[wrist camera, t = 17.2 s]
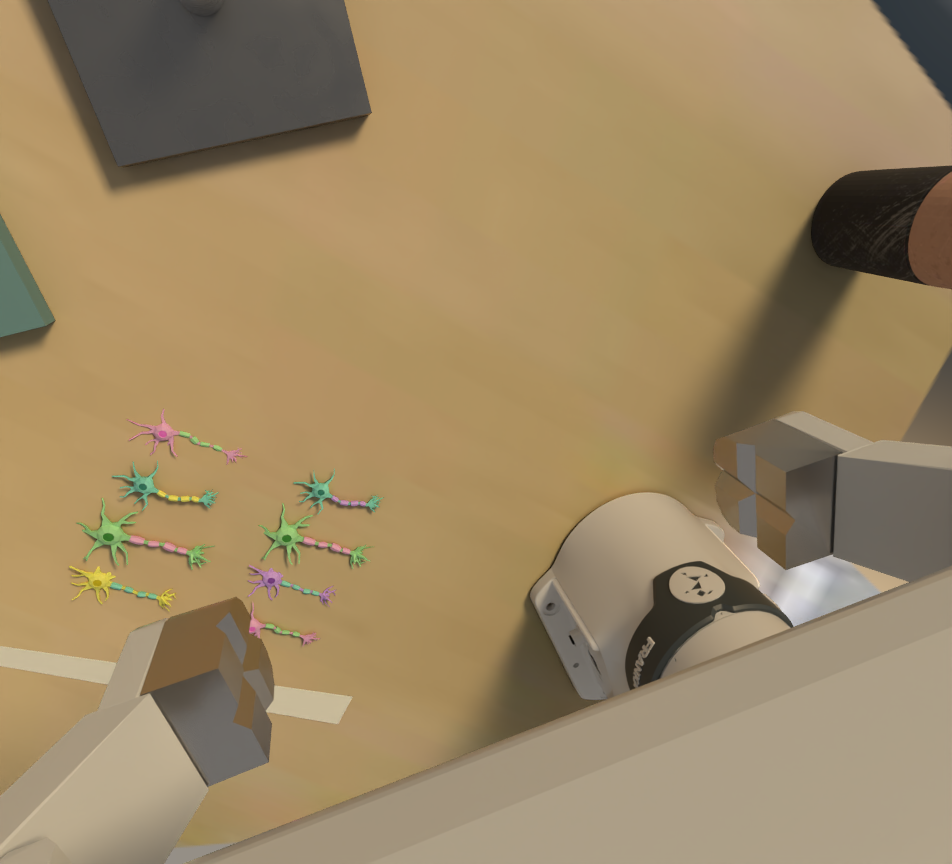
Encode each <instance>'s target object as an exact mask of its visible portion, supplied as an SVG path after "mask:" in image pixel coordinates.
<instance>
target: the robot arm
mask: <svg viewBox="0 0 952 864" xmlns="http://www.w3.org/2000/svg"><path fill="white" fill-rule="evenodd" d="M713 456H714V463H715V464H716V465H717V466H718V467H719V468H720V469H721V470H722V472H721V474H720V476H719V478H718V480H717V481H716V483H715V490H716V500H717V503H718V506H719V508H720V510H721V513H722V515H723V517H724V518H725V519H726V521H727V522H728V523H729V525H730V526H731V527H733V528H734V529H735V530H736V531H737V532H739V533H740V534H744V535H748V536H752V537H756V538H757V547H758V548H759V549H760V550H761V551H762V552H764V553H765V554H766V555H767V556H769V557H770V558H771V559H773V560H774V561H775V562H776V563H778V564H779V565H780V566H781V567H783V568H784V569H785V570H787V569H790V568H793V567H796V566H799V565H802V564H805V563H808V562H811V561H814V560H817V559H820V558H823V557H826V556H829V555H832V554H833V556H834V557H837V558H840V559H843V560H846V561H849V562H852V563H854V564H857V565H860V566H863V567H867V568H869V569H872V570H876V571H878V572H881V573H884V574H887V575H890V576H893V577H896V578H899V579H903V580H906V581H908V582H909V583H906V584H903V585H901V586H898V587H896V588H893V589H891V590H888V591H885V592H883V593H880V594H878V595H875V596H872V597H870V598H867V599H865V600H862V601H859V602H857V603H854V604H852V605H849V606H846V607H844V608H841V609H839V610H836V611H834V612H831V613H828V614H826V615H823V616H821V617H818V618H815V619H813V620H810V621H808V622H805V623H803V624H800V625H797V626H795V627H793V625H792V623H791V621H790V620H789V619H788V617H787V616H786V615H785V614H784V613H783V612H782V611H781V610H780V608H779V607H778V605H777V604H775V603H774V601H772V600H771V599H770V598H769V597H768V596H767V595H766V594H763V593H761V592H760V591H759V587H760V584H759V581H758V579H757V578H756V576H755V575H754V574H753V573H752V572H751V571H750V570H749V569H748V568H747V567H746V566H745V565H744V564H743V563H742V562H741V561H740V559H739V558H738V557H737V556H736V555H735V554H734V553H733V552H732V551H731V550H730V549H729V548H728V547H727V546H726V545H725V544H724V543H723V541H724V531H723V530H722V528H721V527H720V526H719V525H718V524H717V523H716V522H714V521H711V520H708V519H705V518H700V517H697V516H695V515H693V514H692V513H691V512H690V511H689V510H688V509H687V508H686V507H685V506H684V505H683V504H682V503H680V502H679V501H677V500H676V499H674V498H672V497H669V496H667V495H663V494H659V493H649V492H646V493H635V494H630V495H626V496H622V497H619V498H617V499H614V500H612V501H610V502H608V503H606V504H604V505H602V506H601V507H599V508H597V509H596V510H594V511H593V512H592V513H590V514H589V515H588V516H587V517H586V518H584V519H583V520H582V521H581V522H580V523H579V524H578V525H577V526H576V527H575V529H574V530H573V531H572V532H571V534H570V535H569V536H568V538H567V539H566V541H565V542H564V544H563V546H562V548H561V550H560V552H559V554H558V556H557V558H556V560H555V562H554V564H553V566H552V567H551V569H550V570H549V571H548V572H547V573H546V574H545V575H544V576H543V577H542V578H541V579H540V580H539V581H538V582H537V583H536V584H535V586H534V587H533V588H532V590H531V593H530V598H531V601H532V603H533V605H534V607H535V609H536V611H537V613H538V615H539V617H540V619H541V621H542V623H543V625H544V627H545V629H546V631H547V633H548V635H549V637H550V639H551V641H552V643H553V645H554V647H555V649H556V652H557V654H558V656H559V658H560V660H561V662H562V664H563V666H564V668H565V670H566V672H567V674H568V676H569V678H570V680H571V682H572V684H573V686H574V688H575V690H576V691H577V692H578V694H579V695H580V697H581V698H583V699H589V700H602V699H607V700H604V701H602V702H599V703H597V704H594V705H591V706H589V707H586V708H584V709H581V710H579V711H576V712H574V713H571V714H568V715H566V716H563V717H561V718H558V719H555V720H553V721H550V722H548V723H545V724H543V725H540V726H537V727H535V728H532V729H530V730H527V731H524V732H522V733H519V734H517V735H514V736H512V737H509V738H506V739H504V740H501V741H499V742H496V743H494V744H491V745H488V746H486V747H483V748H481V749H478V750H475V751H473V752H470V753H468V754H465V755H463V756H460V757H457V758H455V759H452V760H450V761H447V762H444V763H442V764H439V765H437V766H434V767H432V768H429V769H426V770H424V771H421V772H419V773H416V774H413V775H411V776H408V777H406V778H403V779H401V780H398V781H395V782H393V783H390V784H388V785H385V786H383V787H380V788H377V789H375V790H372V791H370V792H367V793H364V794H362V795H359V796H357V797H354V798H352V799H349V800H346V801H344V802H341V803H339V804H336V805H333V806H331V807H328V808H326V809H323V810H321V811H318V812H315V813H313V814H310V815H308V816H305V817H303V818H300V819H297V820H295V821H292V822H290V823H287V824H284V825H282V826H279V827H277V828H274V829H272V830H269V831H266V832H264V833H261V834H259V835H256V836H253V837H251V838H248V839H246V840H243V841H241V842H238V843H235V844H233V845H230V846H228V847H225V848H222V849H220V850H217V851H215V852H212V853H210V854H207V855H204V856H202V857H199V858H197V859H194V860H192V861H189V862H186V863H184V864H952V447H951V446H940V445H929V444H919V443H908V442H898V441H888V440H881V441H878V442H875V443H874V442H871V441H869V440H867V439H864V438H862V437H860V436H858V435H855V434H853V433H851V432H849V431H846V430H844V429H842V428H840V427H837V426H835V425H833V424H831V423H828V422H826V421H824V420H821V419H819V418H817V417H815V416H812V415H810V414H808V413H806V412H803V411H792V412H790V413H787V414H784V415H782V416H779V417H776V418H774V419H771V420H768V421H766V422H764V423H761V424H758V425H755V426H752V427H750V428H747V429H744V430H741V431H738V432H736V433H733V434H730V435H727V436H724V437H722V438H719V439H716V441H715V445H714V448H713ZM549 603H551V604H550V605H548V604H549ZM547 605H548V606H547ZM250 621H251V617H250V615H249V613H248V611H247V609H246V607H245V605H244V603H243V602H242V601H241V600H240V599H238V598H237V597H234V598H231V599H227V600H224V601H221V602H218V603H214V604H211V605H208V606H205V607H202V608H198V609H195V610H192V611H189V612H185V613H182V614H179V615H176V616H172V617H170V618H165V619H162V620H159V621H156V622H153V623H150V624H148V625H145V626H142V627H139V628H137V629H135V630H133V631H132V632H130V634H129V636H128V638H127V640H126V643H125V645H124V648H123V650H122V652H121V655H120V657H119V660H118V662H117V664H116V667H115V669H114V671H113V674H112V676H111V679H110V681H109V683H108V686H107V688H106V691H105V693H104V695H103V698H102V700H101V703H100V705H99V707H98V710H97V711H96V712H93V713H90V714H88V715H85V716H84V717H83V718H82V719H81V720H80V721H79V722H78V723H77V724H76V725H75V726H73V727H72V728H71V729H70V730H69V731H68V732H67V733H66V734H65V735H64V736H63V737H62V738H61V739H60V740H59V741H58V742H57V743H56V744H55V745H53V746H52V747H51V748H50V749H49V750H48V751H47V752H46V753H45V754H44V755H43V756H42V757H41V758H40V759H39V760H38V761H37V762H36V763H35V764H34V765H32V766H31V767H30V768H29V769H28V770H27V771H26V772H25V773H24V774H23V775H22V776H21V777H20V778H19V779H18V780H17V781H16V782H15V783H14V784H12V785H11V786H10V787H9V788H8V789H7V790H6V791H5V792H4V793H3V794H2V795H1V796H0V864H164V863H165V861H166V860H167V858H168V856H169V855H170V853H171V851H172V850H173V848H174V846H175V845H176V843H177V841H178V840H179V838H180V837H181V835H182V833H183V832H184V830H185V828H186V827H187V825H188V823H189V822H190V820H191V818H192V817H193V815H194V813H195V812H196V810H197V808H198V807H199V805H200V804H201V802H202V800H203V799H204V797H205V795H206V794H207V792H208V790H209V789H208V786H211V785H213V784H216V783H218V782H221V781H223V780H226V779H228V778H231V777H233V776H236V775H238V774H240V773H243V772H245V771H248V770H250V769H253V768H255V767H258V766H260V765H263V764H265V763H268V762H269V753H270V741H271V728H272V723H271V721H270V719H269V717H268V715H267V713H266V710H267V708H268V707H269V706H270V704H271V703H272V702H273V700H274V678H273V671H272V665H271V662H270V659H269V656H268V653H267V650H266V648H265V646H264V644H263V642H262V639H260V638H258V637H256V636H253V635H251V634H249V628H250Z"/></svg>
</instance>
